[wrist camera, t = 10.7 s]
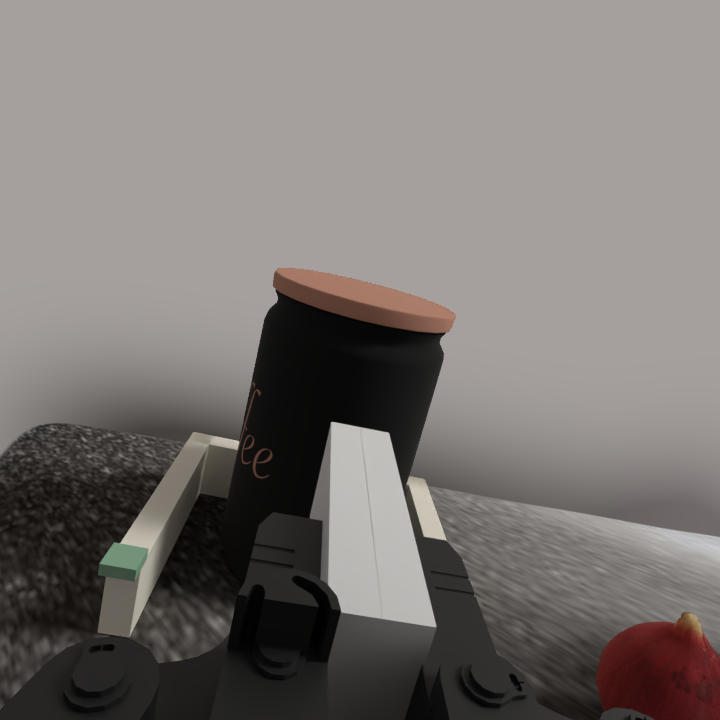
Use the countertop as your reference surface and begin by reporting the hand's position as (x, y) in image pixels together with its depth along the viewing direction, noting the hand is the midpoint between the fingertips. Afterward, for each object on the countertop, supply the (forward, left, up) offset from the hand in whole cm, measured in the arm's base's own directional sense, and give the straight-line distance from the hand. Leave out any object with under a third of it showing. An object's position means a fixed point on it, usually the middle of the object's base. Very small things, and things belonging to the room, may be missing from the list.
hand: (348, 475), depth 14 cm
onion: (-19, -7, -15) cm, 25 cm away
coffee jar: (-1, -18, -15) cm, 24 cm away
